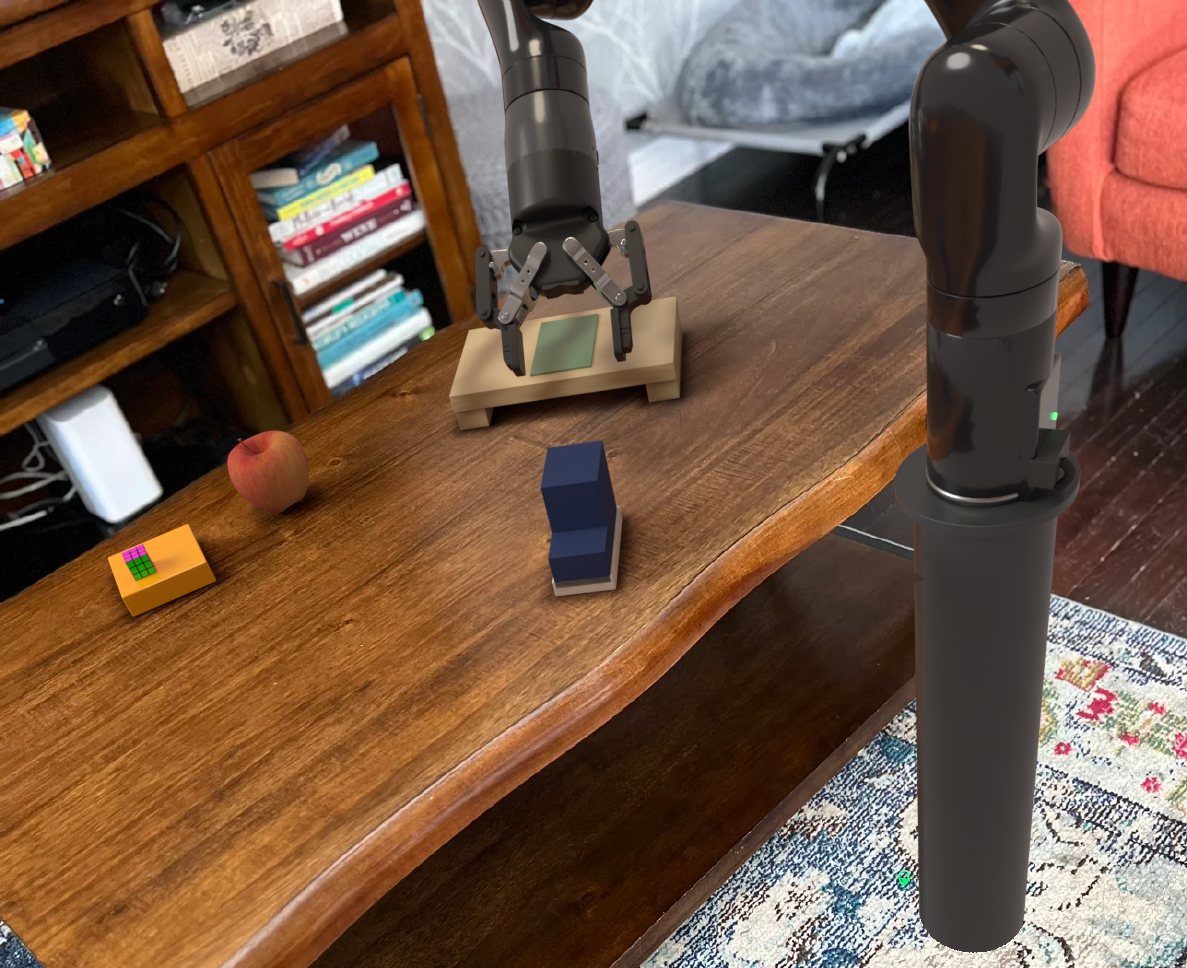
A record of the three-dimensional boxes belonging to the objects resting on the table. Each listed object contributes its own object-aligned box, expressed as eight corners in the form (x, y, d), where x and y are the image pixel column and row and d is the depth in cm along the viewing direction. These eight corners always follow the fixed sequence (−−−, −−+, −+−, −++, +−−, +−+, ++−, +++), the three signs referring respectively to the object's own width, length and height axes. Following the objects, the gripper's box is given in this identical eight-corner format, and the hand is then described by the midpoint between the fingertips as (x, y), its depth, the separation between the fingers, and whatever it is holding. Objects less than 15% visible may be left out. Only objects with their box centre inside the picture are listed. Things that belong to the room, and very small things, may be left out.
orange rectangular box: (118, 576, 115) (96, 539, 112) (198, 542, 117) (179, 504, 114) (133, 617, 110) (110, 579, 107) (216, 581, 111) (197, 542, 108)
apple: (336, 494, 118) (306, 419, 113) (278, 534, 115) (245, 460, 109) (291, 477, 122) (260, 404, 117) (234, 515, 119) (199, 442, 114)
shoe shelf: (682, 333, 127) (676, 294, 124) (679, 401, 118) (673, 360, 115) (478, 365, 131) (468, 328, 128) (459, 433, 122) (448, 394, 119)
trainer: (566, 526, 106) (545, 444, 101) (622, 519, 105) (605, 436, 100) (555, 597, 99) (533, 513, 94) (616, 589, 98) (597, 505, 93)
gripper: (455, 162, 98) (473, 365, 98) (630, 129, 95) (648, 337, 96) (481, 204, 105) (497, 392, 106) (644, 174, 103) (661, 368, 103)
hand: (569, 366), depth 101 cm, fingers open, 8 cm apart
